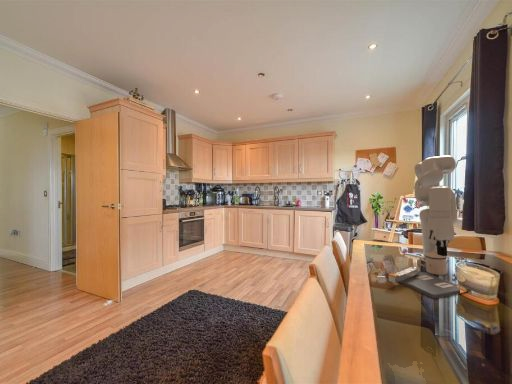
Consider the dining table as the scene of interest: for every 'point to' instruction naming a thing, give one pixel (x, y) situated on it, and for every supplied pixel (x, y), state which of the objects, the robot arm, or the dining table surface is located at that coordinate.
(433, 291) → the tray
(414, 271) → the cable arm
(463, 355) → the dining table surface
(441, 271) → the teacup with lid
